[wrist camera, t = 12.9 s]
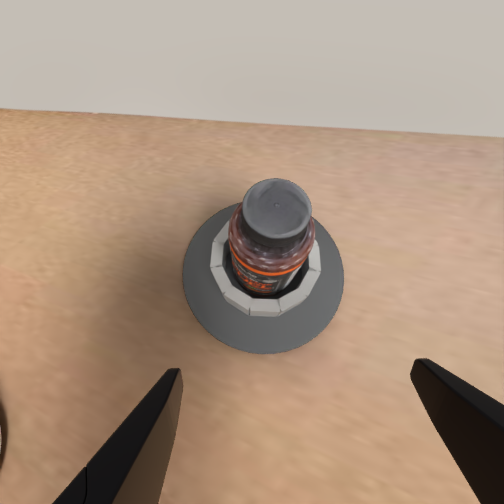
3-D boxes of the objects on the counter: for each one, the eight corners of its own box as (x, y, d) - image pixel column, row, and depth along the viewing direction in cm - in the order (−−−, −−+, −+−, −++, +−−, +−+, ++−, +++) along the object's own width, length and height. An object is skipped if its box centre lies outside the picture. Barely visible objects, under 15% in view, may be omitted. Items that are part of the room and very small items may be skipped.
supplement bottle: (223, 284, 23) (203, 229, 13) (247, 233, 25) (247, 151, 15) (281, 308, 22) (310, 271, 12) (301, 254, 24) (341, 182, 14)
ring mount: (227, 389, 21) (222, 397, 17) (162, 240, 26) (148, 222, 22) (372, 302, 24) (395, 293, 20) (288, 185, 29) (294, 161, 25)
